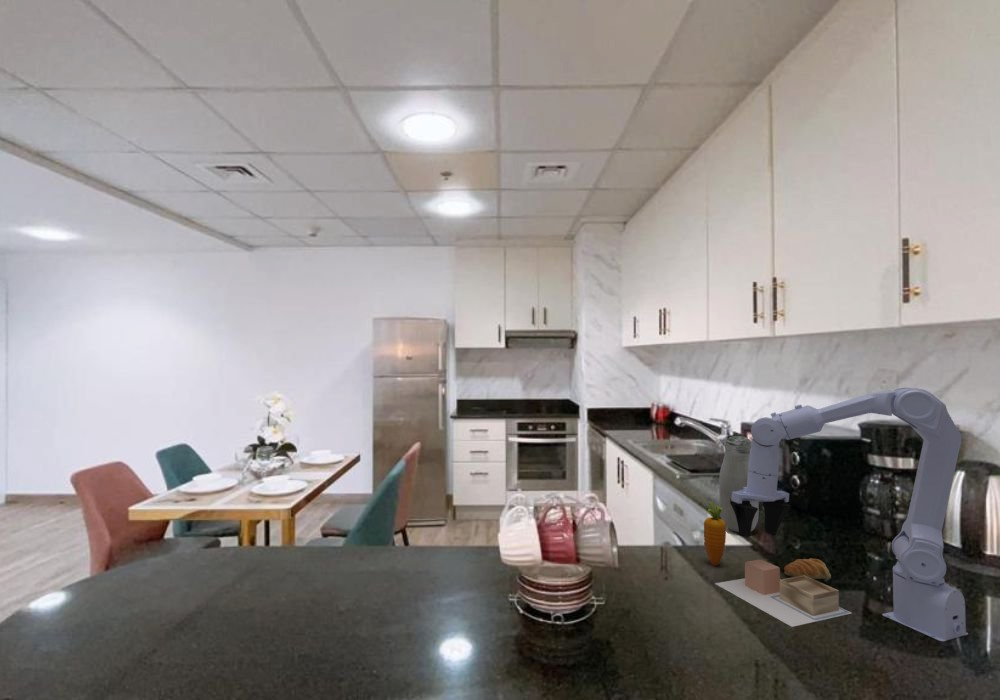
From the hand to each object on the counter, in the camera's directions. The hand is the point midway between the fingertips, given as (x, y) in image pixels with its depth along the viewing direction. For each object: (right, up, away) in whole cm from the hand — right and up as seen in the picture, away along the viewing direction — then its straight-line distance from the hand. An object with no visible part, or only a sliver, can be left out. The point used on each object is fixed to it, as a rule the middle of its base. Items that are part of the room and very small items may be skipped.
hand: (757, 534), depth 101 cm
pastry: (+15, -12, +6) cm, 20 cm away
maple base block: (+5, -10, -9) cm, 15 cm away
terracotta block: (0, -11, -3) cm, 11 cm away
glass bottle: (+14, -14, +36) cm, 41 cm away
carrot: (-5, -12, +10) cm, 16 cm away
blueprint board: (+1, -11, -6) cm, 13 cm away
